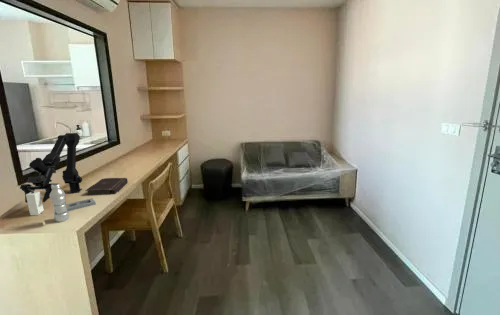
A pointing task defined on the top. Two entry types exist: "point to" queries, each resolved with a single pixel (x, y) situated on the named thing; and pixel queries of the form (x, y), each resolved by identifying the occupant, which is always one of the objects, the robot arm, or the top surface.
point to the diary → (107, 186)
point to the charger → (34, 203)
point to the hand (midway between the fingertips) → (34, 202)
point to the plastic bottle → (59, 203)
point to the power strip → (80, 204)
